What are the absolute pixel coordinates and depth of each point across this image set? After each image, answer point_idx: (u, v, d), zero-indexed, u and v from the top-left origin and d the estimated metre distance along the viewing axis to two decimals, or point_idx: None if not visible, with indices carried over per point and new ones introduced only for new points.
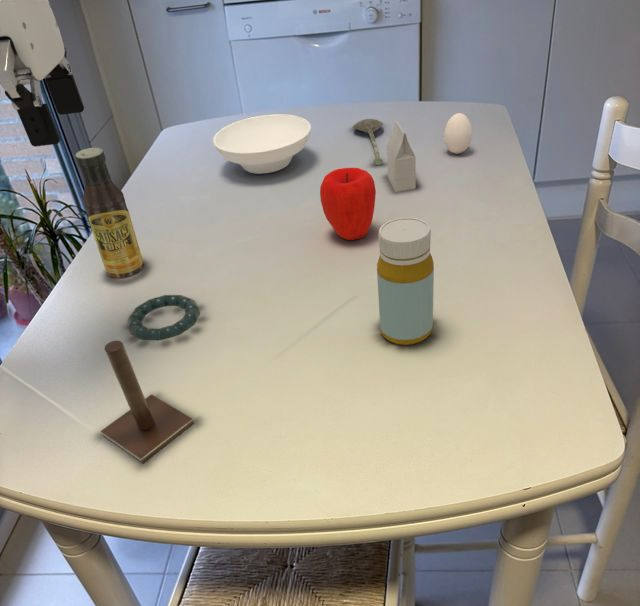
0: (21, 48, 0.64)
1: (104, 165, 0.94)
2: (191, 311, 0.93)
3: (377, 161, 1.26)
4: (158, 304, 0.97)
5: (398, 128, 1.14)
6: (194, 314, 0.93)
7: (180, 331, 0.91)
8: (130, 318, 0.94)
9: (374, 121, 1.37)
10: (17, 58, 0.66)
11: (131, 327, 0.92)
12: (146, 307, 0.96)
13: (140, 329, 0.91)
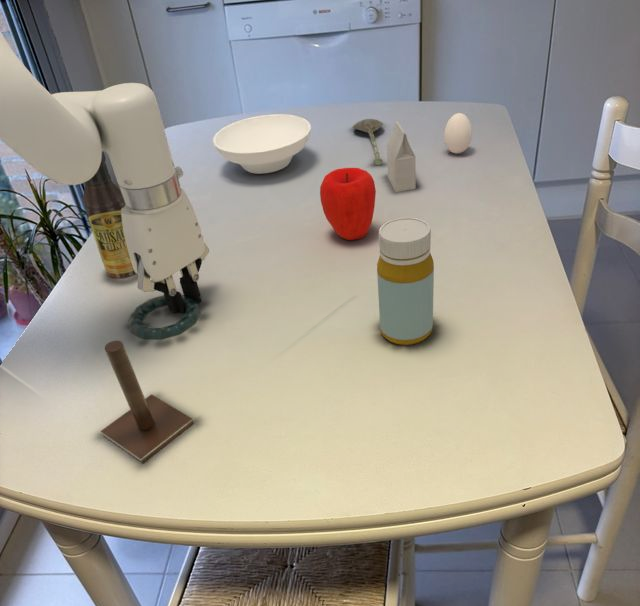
0: (146, 262, 0.87)
1: (104, 165, 0.94)
2: (192, 310, 0.93)
3: (377, 161, 1.26)
4: (159, 303, 0.97)
5: (398, 128, 1.14)
6: (195, 313, 0.93)
7: (181, 331, 0.91)
8: (131, 317, 0.94)
9: (374, 121, 1.37)
10: None
11: (132, 326, 0.92)
12: (147, 306, 0.96)
13: (141, 328, 0.92)
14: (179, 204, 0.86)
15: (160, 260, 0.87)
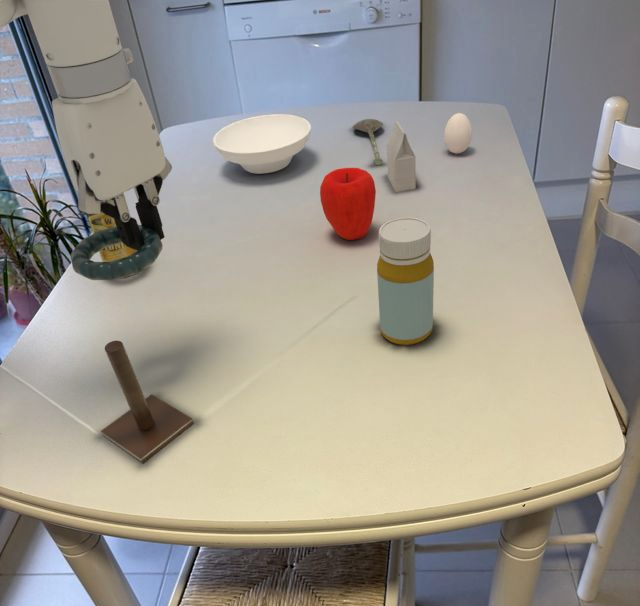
0: (87, 173, 0.67)
1: None
2: (151, 241, 0.74)
3: (377, 161, 1.26)
4: (110, 236, 0.77)
5: (398, 128, 1.14)
6: (154, 245, 0.74)
7: (136, 265, 0.72)
8: (74, 251, 0.74)
9: (374, 121, 1.37)
10: None
11: (74, 261, 0.73)
12: (95, 239, 0.76)
13: (85, 263, 0.72)
14: (129, 95, 0.66)
15: (106, 170, 0.68)
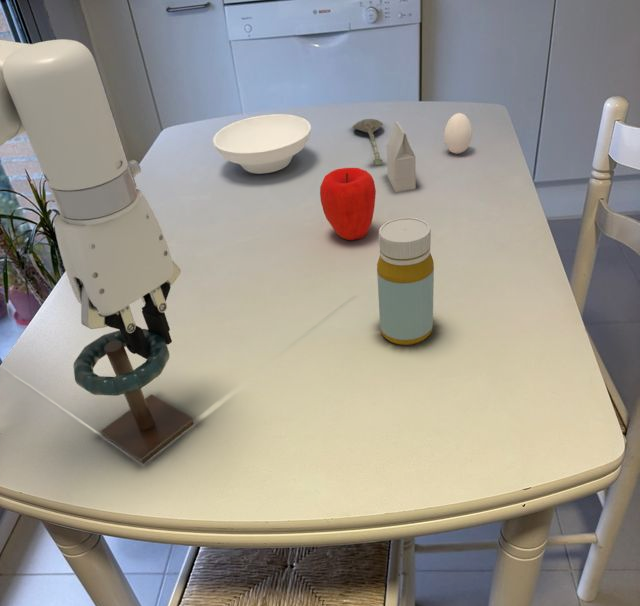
0: (90, 291, 0.64)
1: None
2: (157, 352, 0.70)
3: (377, 161, 1.26)
4: None
5: (398, 128, 1.14)
6: (161, 356, 0.70)
7: (141, 381, 0.68)
8: (76, 361, 0.71)
9: (374, 121, 1.37)
10: None
11: (77, 374, 0.69)
12: (99, 346, 0.73)
13: (88, 378, 0.68)
14: (135, 211, 0.63)
15: (110, 287, 0.64)
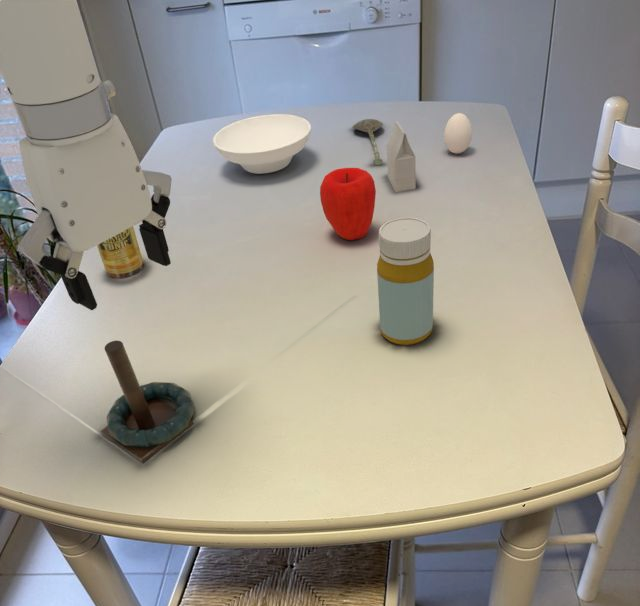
0: (59, 222, 0.59)
1: None
2: (183, 406, 0.77)
3: (377, 161, 1.26)
4: (144, 394, 0.80)
5: (398, 128, 1.14)
6: (187, 410, 0.77)
7: (170, 434, 0.75)
8: (110, 414, 0.77)
9: (374, 121, 1.37)
10: None
11: (110, 427, 0.76)
12: None
13: (121, 431, 0.75)
14: (109, 135, 0.58)
15: (81, 219, 0.59)
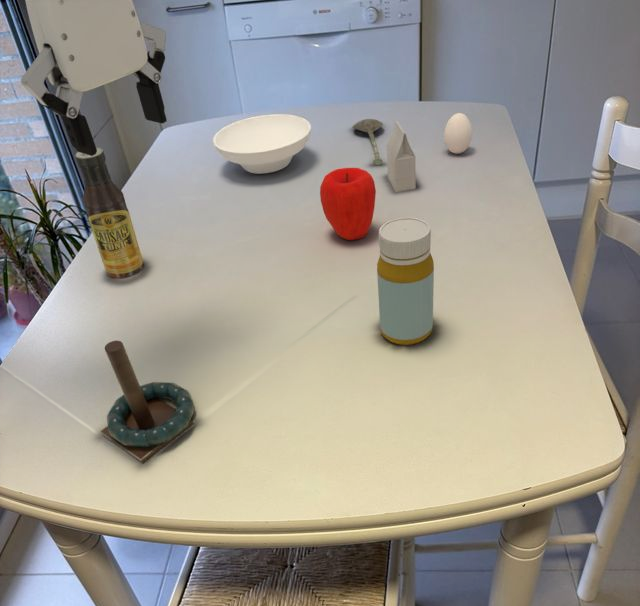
0: (60, 58, 0.62)
1: (104, 165, 0.94)
2: (183, 406, 0.77)
3: (377, 161, 1.26)
4: (144, 394, 0.80)
5: (398, 128, 1.14)
6: (187, 410, 0.77)
7: (170, 434, 0.75)
8: (110, 414, 0.77)
9: (374, 121, 1.37)
10: None
11: (110, 427, 0.76)
12: None
13: (121, 431, 0.75)
14: None
15: (80, 56, 0.63)
